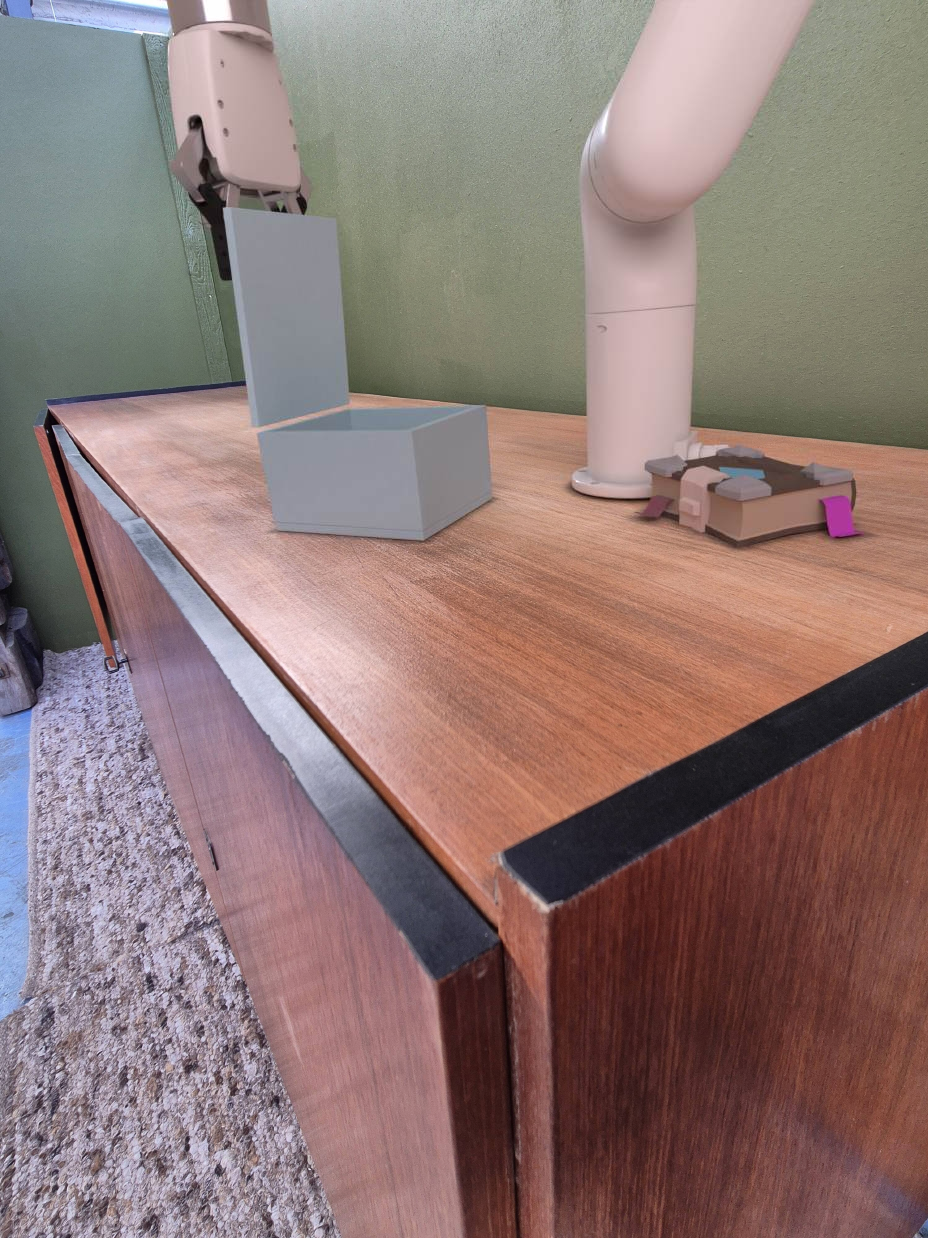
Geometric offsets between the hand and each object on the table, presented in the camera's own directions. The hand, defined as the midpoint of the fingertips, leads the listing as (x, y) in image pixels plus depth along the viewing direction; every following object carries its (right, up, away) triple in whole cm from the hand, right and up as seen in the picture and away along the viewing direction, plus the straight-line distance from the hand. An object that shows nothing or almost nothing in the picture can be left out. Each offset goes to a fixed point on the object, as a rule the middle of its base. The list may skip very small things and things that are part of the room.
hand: (265, 276), depth 63 cm
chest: (+10, -20, +4) cm, 23 cm away
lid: (+3, -4, 0) cm, 5 cm away
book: (+38, -22, -5) cm, 44 cm away
